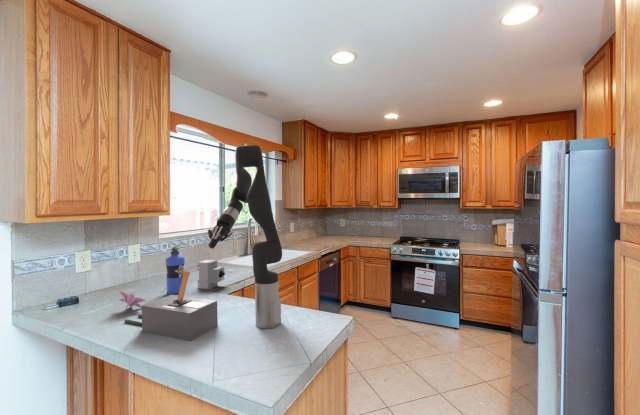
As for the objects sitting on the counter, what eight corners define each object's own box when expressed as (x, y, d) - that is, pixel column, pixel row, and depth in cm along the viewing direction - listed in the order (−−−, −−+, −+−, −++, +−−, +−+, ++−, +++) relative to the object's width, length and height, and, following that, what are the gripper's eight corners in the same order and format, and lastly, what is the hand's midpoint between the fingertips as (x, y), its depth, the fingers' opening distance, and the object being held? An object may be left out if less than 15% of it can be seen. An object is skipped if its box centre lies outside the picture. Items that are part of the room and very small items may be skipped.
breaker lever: (182, 302, 116) (190, 272, 119) (180, 302, 115) (187, 271, 118) (178, 301, 117) (185, 271, 120) (176, 301, 116) (183, 271, 119)
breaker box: (217, 325, 118) (217, 297, 118) (190, 341, 105) (189, 309, 105) (147, 313, 133) (146, 288, 132) (115, 326, 120) (114, 297, 119)
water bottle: (189, 290, 167) (188, 246, 166) (176, 295, 158) (175, 248, 157) (175, 289, 169) (174, 245, 169) (162, 294, 160) (161, 248, 160)
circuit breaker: (220, 289, 168) (219, 263, 168) (197, 288, 171) (197, 262, 170) (227, 285, 175) (226, 260, 175) (205, 284, 178) (204, 259, 178)
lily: (147, 314, 135) (152, 292, 140) (119, 311, 126) (125, 288, 131) (133, 317, 141) (138, 296, 145) (106, 315, 132) (112, 293, 137)
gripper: (213, 213, 143) (194, 241, 132) (236, 213, 138) (218, 242, 127) (220, 223, 148) (203, 251, 137) (243, 223, 143) (227, 253, 132)
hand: (210, 247), depth 132 cm, fingers closed
